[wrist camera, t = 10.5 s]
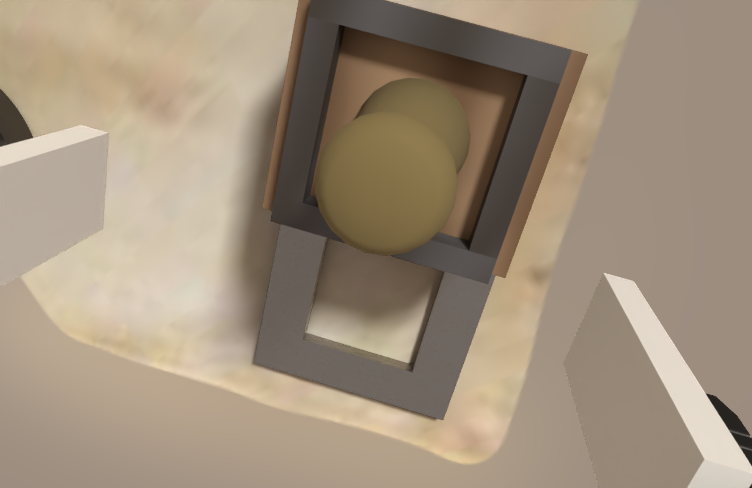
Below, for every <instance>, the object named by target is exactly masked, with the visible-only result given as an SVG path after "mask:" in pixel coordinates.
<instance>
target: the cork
mask: <svg viewBox="0 0 752 488" xmlns="http://www.w3.org/2000/svg"><path fill="white" fill-rule="evenodd" d="M470 139H471V135H470V129H469V123H468V117H467V116H466V114H465V112H464V110H463V108H462V106H461V104H460V102H459V101H458V100H457V99H456V98H455V97H454V96H453V95H452V94H451V93H450V92H449V91H448V90H447V89H446V88H444V87H442V86H440V85H438V84H436V83H434V82H432V81H429V80H426V79H417V78H404V79H400V80H395V81H390V82H389V83H387V84H385V85H384V86H382V87H380V88H379V89H377V90H375V91H374V92H373V93H372V94H371V95H370V96H369V98H368V99H367V100H366V101H365V102H364V103H363V105H362V106H361V109H360V111H359V114H358V116H357V118H356V119H355V120H353V121H351V122H350V123H348V124H346V125H345V126H343V127H341V128H340V129H339V130H338V131H337V132H336V133H335V134H334V135H333V137H332V138H331V139H330V140H329V141H328V142H327V144H326V145H325V146H324V148H323V151H322V153H321V156H320V158H319V161H318V163H317V166H316V179H315V194H316V198H317V202H318V206H319V210H320V213H321V214H322V216H323V217H324V219H325V221H326V222H327V224H328V226H329V227H330V229H331V230H332V231H333V232H334V233H335V234H336V235H338V236H339V237H340V238H341V239H342V240H343V241H344V242H346V243H347V244H349V245H351V246H353V247H355V248H357V249H359V250H361V251H364V252H366V253H372V254H379V255H386V256H388V255H394V254H401V253H407V252H409V251H411V250H413V249H415V248H418V247H420V246H422V245H424V244H426V243H427V242H428V241H430V240H431V239H432V238H433V237H434V236H435V235H436V234H437V233H438V232H439V231H440V230H441V229H442V228H443V227H444V226H445V224H446V222H447V220H448V218H449V216H450V214H451V212H452V211H453V209H454V206H455V200H456V193H457V186H458V179H457V174H458V173H459V172H460V170H461V168H462V166H463V164H464V162H465V160H466V158H467V156H468V152H469V145H470Z"/></svg>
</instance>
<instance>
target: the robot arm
mask: <svg viewBox="0 0 752 488" xmlns="http://www.w3.org/2000/svg"><path fill="white" fill-rule="evenodd" d="M108 141H109V133H108V132H104V131H101V130H97V129H94V128H90V127H87V126H83V125H80V126H76V127H72V128H68V129H65V130H61V131H57V132H54V133H50V134H46V135H42V136H39V137H35V138H33V136H32V134H31V132H30V130H29V128H28V126H27V124H26V122H25V120H24V119H23V117H22V115H21V114H20V112H19V111H18V109H17V108H16V107H15V105H14V104H13V103H12V101H11V100H10V99H9V98H8V97H7V96H6V94H5V93H4V92H3V91H2V90H1V89H0V287H2V286H3V285H5V284H7V283H9V282H10V281H12V280H14V279H16V278H17V277H19V276H21V275H23V274H24V273H26V272H28V271H30V270H31V269H33V268H35V267H37V266H38V265H40V264H42V263H44V262H46V261H47V260H49V259H51V258H53V257H54V256H56V255H58V254H60V253H61V252H63V251H65V250H67V249H68V248H70V247H72V246H74V245H75V244H77V243H79V242H81V241H82V240H84V239H86V238H88V237H89V236H91V235H93V234H95V233H96V232H98V231H100V230H102V229H103V221H104V205H105V189H106V173H107V157H108ZM564 366H565V370H566V373H567V377H568V380H569V384H570V387H571V391H572V395H573V398H574V402H575V405H576V409H577V412H578V416H579V419H580V423H581V426H582V430H583V434H584V437H585V440H586V444H587V448H588V451H589V455H590V458H591V462H592V465H593V469H594V473H595V476H596V480H597V483H598V487H599V488H752V438H750V437H749V436H750V434H749V432H748V431H747V430H746V428H745V427H744V425H743V424H742V422H741V421H740V419H739V418H738V416H737V415H736V414H735V413H734V412H732V411H731V410H730V409H729V408H728V407H727V406H726V405H725V404H724V403H723V402H721V401H720V400H719V399H718V398H717V397H716V396H713V395H710V394H706V393H705V392H704V391H703V389H702V387H701V386H700V384H699V383H698V381H697V380H696V378H695V377H694V375H693V373H692V372H691V370H690V369H689V367H688V366H687V364H686V362H685V361H684V359H683V358H682V356H681V355H680V353H679V352H678V350H677V348H676V347H675V345H674V344H673V342H672V341H671V339H670V337H669V336H668V334H667V333H666V331H665V330H664V328H663V326H662V325H661V323H660V322H659V320H658V319H657V317H656V316H655V314H654V312H653V311H652V309H651V308H650V306H649V305H648V303H647V301H646V300H645V298H644V297H643V295H642V294H641V292H640V290H639V289H638V287H637V286H636V284H635V283H634V281H631V280H627V279H624V278H620V277H617V276H613V275H610V274H606V273H603V275H602V277H601V280H600V282H599V284H598V287H597V289H596V291H595V293H594V295H593V298H592V300H591V302H590V305H589V307H588V309H587V311H586V314H585V316H584V318H583V320H582V322H581V325H580V327H579V329H578V332H577V334H576V336H575V338H574V340H573V343H572V345H571V347H570V350H569V352H568V354H567V356H566V359H565V361H564Z"/></svg>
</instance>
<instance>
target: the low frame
mask: <svg viewBox="0 0 752 488" xmlns="http://www.w3.org/2000/svg"><path fill="white" fill-rule="evenodd" d="M327 240H328V238H327V237H323V236H320V235H316V234H313V233H309V232H306V231H302V230H299V229H296V228H292V227H289V226H285V225H282V224H280V229H279V235H278V240H277V245H276V250H275V255H274V261H273V266H272V271H271V276H270V282H269V287H268V292H267V297H266V302H265V308H264V313H263V318H262V323H261V329H260V334H259V339H258V344H257V349H256V355H255V360H254V363H257V364H260V365H263V366H267V367H270V368H273V369H276V370H280V371H283V372H286V373H289V374H293V375H296V376H299V377H303V378H306V379H309V380H312V381H316V382H319V383H322V384H326V385H329V386H332V387H335V388H339V389H342V390H345V391H349V392H352V393H355V394H358V395H362V396H365V397H368V398H372V399H375V400H378V401H381V402H385V403H388V404H391V405H395V406H398V407H401V408H404V409H408V410H411V411H414V412H417V413H421V414H424V415H427V416H431V417H434V418H437V419H440V420H443V419H444V416H445V414H446V411H447V408H448V405H449V403H450V400H451V397H452V394H453V391H454V389H455V386H456V383H457V380H458V378H459V375H460V372H461V369H462V367H463V364H464V361H465V358H466V356H467V353H468V350H469V347H470V345H471V342H472V339H473V336H474V334H475V331H476V328H477V325H478V322H479V320H480V317H481V314H482V311H483V309H484V306H485V303H486V300H487V298H488V295H489V292H490V289H491V287H492V284H493V281H494V278H495V276H496V275H493V274H492V275H491V278H490V280H489V283H488V284H485V283H482V282H478V281H475V280H471V279H468V278H464V277H461V276H457V275H454V274H451V273H447V272H444V273H443V276H442V279H441V282H440V285H439V288H438V291H437V294H436V298H435V301H434V304H433V307H432V310H431V313H430V316H429V319H428V322H427V325H426V329H425V332H424V335H423V338H422V341H421V344H420V347H419V350H418V353H417V357H416V360H415V363H414V365H411V364H407V363H404V362H401V361H397V360H394V359H391V358H387V357H384V356H381V355H377V354H374V353H371V352H367V351H364V350H361V349H357V348H354V347H351V346H347V345H344V344H341V343H337V342H334V341H331V340H327V339H324V338H321V337H317V336H314V335H311V334H307V333H306V332H307V327H308V323H309V319H310V314H311V310H312V306H313V301H314V297H315V292H316V288H317V284H318V279H319V275H320V271H321V266H322V262H323V257H324V253H325V249H326V244H327Z"/></svg>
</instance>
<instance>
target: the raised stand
mask: <svg viewBox="0 0 752 488" xmlns="http://www.w3.org/2000/svg"><path fill="white" fill-rule="evenodd" d="M587 56H588V54H585V53H581V52H578V51H574V50H570V49H567V48H563V47H560V46H556V45H552V44H548V43H545V42H541V41H537V40H533V39H530V38H526V37H522V36H518V35H514V34H511V33H507V32H503V31H499V30H496V29H492V28H488V27H484V26H481V25H477V24H473V23H469V22H465V21H462V20H458V19H454V18H450V17H447V16H443V15H439V14H435V13H432V12H428V11H424V10H420V9H417V8H413V7H409V6H405V5H401V4H398V3H394V2H390V1H386V0H299V1H298V7H297V13H296V18H295V24H294V30H293V35H292V41H291V47H290V52H289V58H288V64H287V69H286V75H285V81H284V87H283V92H282V98H281V104H280V109H279V115H278V121H277V126H276V132H275V138H274V143H273V149H272V155H271V160H270V166H269V172H268V177H267V183H266V189H265V194H264V200H263V206H262V208H265V209H268V210H272V215H271V222H275V223H278V224H282V225H285V226H289V227H292V228H296V229H299V230H302V231H306V232H309V233H313V234H316V235H320V236H323V237H327V238H330V239H333V240H337V241H340V242H344V241H343V240H342V239H341V238H340V237H339V236H338V235H336V234H335V233H334V232H333V231H332V230H331V229H330V227H329V226H328V224H327V222H326V221H325V219H324V217H323V216H322V214H321V213H320V210H319V206H318V202H317V198H316V194H315V179H316V166H317V163H318V161H319V158H320V156H321V153H322V151H323V148H324V146H325V145H326V144H327V142H328V141H329V140H330V139H331V138H332V137H333V135H334V134H335V133H336V132H337V131H338V130H339V129H340V128H341V127H343V126H345V125H346V124H348V123H350V122H351V121H353V120H355V119H356V118H357V116H358V114H359V111H360V109H361V106H362V105H363V103H364V102H365V101H366V100H367V99H368V98H369V96H370V95H371V94H372V93H373V92H374V91H375V90H377V89H379V88H380V87H382V86H384V85H385V84H387V83H389V82H390V81H395V80H400V79H404V78H417V79H426V80H429V81H432V82H434V83H436V84H438V85H440V86H442V87H444V88H446V89H447V90H448V91H449V92H450V93H451V94H452V95H453V96H454V97H455V98H456V99H457V100H458V101H459V102H460V104H461V106H462V108H463V110H464V112H465V114H466V116H467V117H468V123H469V129H470V135H471V139H470V145H469V152H468V156H467V158H466V160H465V162H464V164H463V166H462V168H461V170H460V172H459V173H458V174H457V179H458V186H457V193H456V200H455V206H454V209H453V211H452V212H451V214H450V216H449V218H448V220H447V222H446V224H445V226H444V227H443V228H442V229H441V230H440V231H439V232H438V233H437V234H436V235H435V236H434V237H433V238H432V239H431V240H430V241H428V242H427V243H426V244H424V245H422V246H420V247H418V248H415V249H413V250H411V251H409V252H407V253H401V254H394V255H389V256H392V257H395V258H399V259H402V260H406V261H409V262H413V263H416V264H420V265H423V266H426V267H430V268H433V269H437V270H440V271H444V272H447V273H451V274H454V275H457V276H461V277H464V278H468V279H471V280H475V281H478V282H482V283H485V284H488V283H489V280H490V278H491V275H492V274H493V275H496V276H500V277H503V278H505V277H506V274H507V272H508V269H509V266H510V264H511V261H512V258H513V256H514V253H515V250H516V247H517V245H518V242H519V239H520V237H521V234H522V231H523V229H524V226H525V223H526V220H527V218H528V215H529V212H530V210H531V207H532V204H533V202H534V199H535V196H536V193H537V191H538V188H539V185H540V183H541V180H542V177H543V175H544V172H545V169H546V166H547V164H548V161H549V158H550V156H551V153H552V150H553V148H554V145H555V142H556V139H557V137H558V134H559V131H560V129H561V126H562V123H563V121H564V118H565V115H566V112H567V110H568V107H569V104H570V102H571V99H572V96H573V94H574V91H575V88H576V85H577V83H578V80H579V77H580V75H581V72H582V69H583V67H584V64H585V61H586V58H587ZM344 243H346V242H344Z"/></svg>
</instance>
